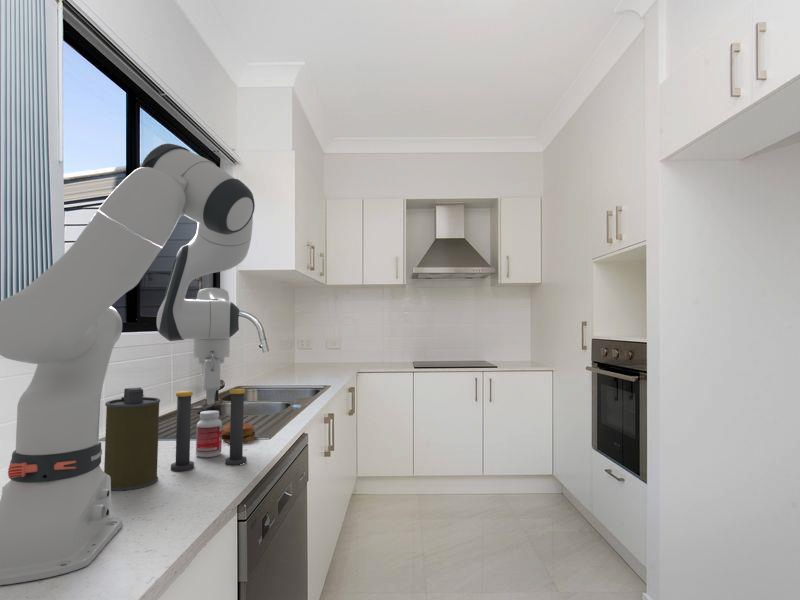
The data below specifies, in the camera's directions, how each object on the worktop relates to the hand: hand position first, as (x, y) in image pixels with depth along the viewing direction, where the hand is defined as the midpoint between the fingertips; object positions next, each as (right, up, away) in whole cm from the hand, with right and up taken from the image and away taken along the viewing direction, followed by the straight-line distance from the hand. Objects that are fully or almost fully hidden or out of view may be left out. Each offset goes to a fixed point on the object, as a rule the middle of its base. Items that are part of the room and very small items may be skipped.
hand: (210, 403), depth 127 cm
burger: (+2, -14, +16) cm, 21 cm away
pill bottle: (0, -13, -1) cm, 13 cm away
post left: (-2, -13, -12) cm, 18 cm away
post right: (+9, -13, -7) cm, 18 cm away
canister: (-8, -12, -22) cm, 27 cm away
